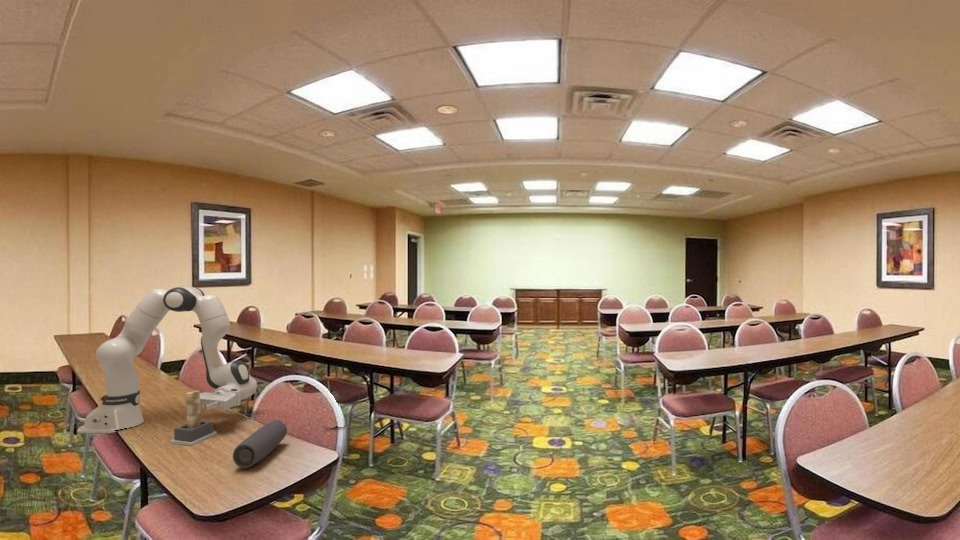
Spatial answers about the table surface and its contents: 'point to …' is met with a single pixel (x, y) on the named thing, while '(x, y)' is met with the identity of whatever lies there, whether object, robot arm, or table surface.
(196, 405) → the slat
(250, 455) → the bluetooth speaker
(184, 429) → the grey hollow box
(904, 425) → the table surface
